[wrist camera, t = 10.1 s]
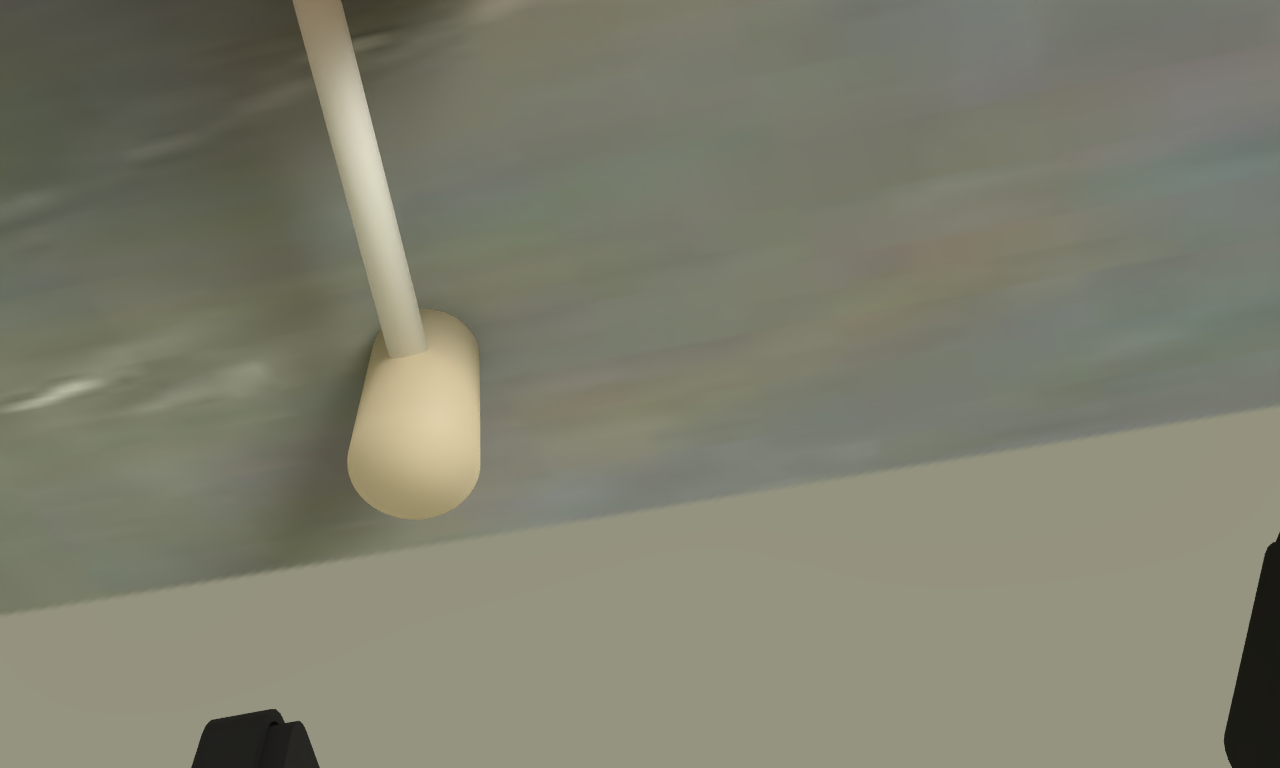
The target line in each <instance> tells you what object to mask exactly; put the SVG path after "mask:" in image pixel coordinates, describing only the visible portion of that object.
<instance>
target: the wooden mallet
mask: <svg viewBox="0 0 1280 768" xmlns="http://www.w3.org/2000/svg"><path fill="white" fill-rule="evenodd" d="M292 1H293V5H294V8H295V12H296V16H297V19H298V23H299V27H300V31H301V34H302V38H303V42H304V45H305V49H306V53H307V56H308V60H309V64H310V67H311V71H312V75H313V78H314V82H315V86H316V89H317V93H318V97H319V100H320V104H321V108H322V112H323V115H324V119H325V123H326V126H327V130H328V134H329V137H330V141H331V145H332V148H333V152H334V156H335V159H336V163H337V167H338V170H339V174H340V178H341V181H342V185H343V189H344V193H345V196H346V200H347V204H348V207H349V211H350V215H351V218H352V222H353V226H354V229H355V233H356V237H357V240H358V244H359V248H360V251H361V255H362V259H363V262H364V266H365V270H366V274H367V277H368V281H369V285H370V288H371V292H372V296H373V299H374V303H375V307H376V310H377V314H378V318H379V321H380V325H381V330H380V331H379V333H378V335H377V336H376V339H375V341H374V344H373V348H372V352H371V356H370V361H369V365H368V369H367V374H366V378H365V382H364V387H363V391H362V395H361V400H360V404H359V408H358V413H357V417H356V421H355V425H354V430H353V434H352V438H351V443H350V447H349V451H348V458H347V466H348V473H349V477H350V479H351V482H352V484H353V486H354V488H355V489H356V491H357V492H358V494H359V495H360V496H361V497H362V498H363V499H364V500H365V501H366V502H367V503H368V504H370V505H371V506H372V507H374V508H375V509H377V510H379V511H381V512H383V513H385V514H387V515H391V516H394V517H398V518H403V519H426V518H431V517H435V516H439V515H441V514H444V513H446V512H448V511H450V510H452V509H454V508H455V507H457V506H458V505H459V504H460V503H462V502H463V501H464V500H465V499H466V498H467V497H468V495H469V494H470V493H471V491H472V490H473V488H474V487H475V484H476V482H477V480H478V476H479V472H480V354H479V348H478V345H477V342H476V340H475V338H474V336H473V334H472V333H471V331H470V330H469V329H468V328H467V326H465V325H464V324H463V323H462V322H461V321H460V320H458V319H457V318H455V317H453V316H451V315H450V314H447V313H445V312H442V311H438V310H432V309H419V308H418V304H417V300H416V296H415V292H414V288H413V284H412V280H411V276H410V272H409V268H408V264H407V260H406V256H405V252H404V248H403V244H402V240H401V236H400V232H399V229H398V225H397V221H396V217H395V213H394V209H393V205H392V201H391V197H390V193H389V189H388V185H387V181H386V177H385V173H384V169H383V165H382V161H381V157H380V153H379V149H378V145H377V141H376V137H375V133H374V129H373V125H372V121H371V117H370V113H369V109H368V105H367V101H366V97H365V93H364V89H363V85H362V81H361V77H360V73H359V69H358V65H357V61H356V57H355V53H354V49H353V45H352V41H351V38H350V34H349V30H348V26H347V22H346V18H345V14H344V10H343V6H342V2H341V0H292Z"/></svg>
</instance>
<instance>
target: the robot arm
mask: <svg viewBox="0 0 1280 768" xmlns="http://www.w3.org/2000/svg"><path fill="white" fill-rule="evenodd" d="M1224 745H1225V751H1226V754H1227V756H1228V760H1229V762H1230V764H1231V766H1232V768H1280V533H1279V535H1278V538H1277V540H1276V542H1274V543H1272V544H1271V545H1270V546H1269V547H1268V548H1267V551H1266V553H1265V557H1264V561H1263V565H1262V570H1261V574H1260V579H1259V583H1258V588H1257V592H1256V597H1255V601H1254V605H1253V610H1252V615H1251V619H1250V623H1249V628H1248V632H1247V637H1246V641H1245V645H1244V650H1243V654H1242V659H1241V663H1240V668H1239V672H1238V677H1237V681H1236V686H1235V690H1234V695H1233V699H1232V704H1231V708H1230V713H1229V717H1228V721H1227V726H1226V730H1225V735H1224ZM192 768H319V765H318V762H317V759H316V757H315V754H314V751H313V748H312V746H311V743H310V740H309V737H308V735H307V732H306V730H305V727H304V726H303V724H302V723H301V722H300V721H296V722H290V723H285V722H284V720H283V718H282V716H281V714H280V713H279V712H278V711H277V710H276V709H269V710H264V711H258V712H253V713H248V714H242V715H237V716H231V717H226V718H220V719H215V720H211V721H210V722H209V723H208V724H207V725H206V727H205V729H204V731H203V733H202V736H201V739H200V742H199V745H198V748H197V752H196V755H195V758H194V761H193V764H192Z"/></svg>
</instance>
